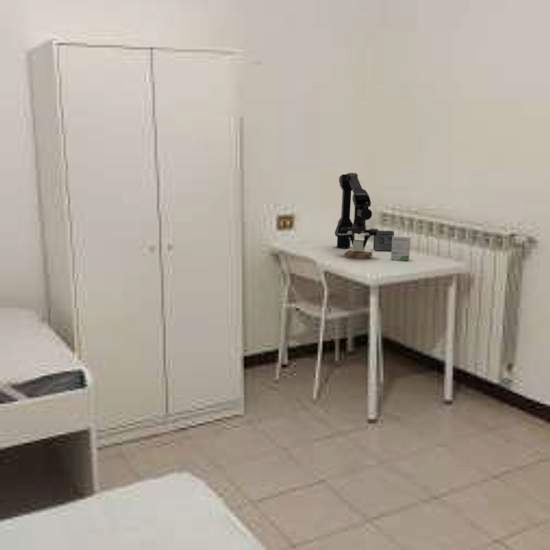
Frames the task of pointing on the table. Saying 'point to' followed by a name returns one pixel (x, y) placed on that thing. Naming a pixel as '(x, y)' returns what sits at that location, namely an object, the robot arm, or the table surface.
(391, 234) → the small box
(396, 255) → the ink box
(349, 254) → the brown wooden tray
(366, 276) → the table surface
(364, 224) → the robot arm
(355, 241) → the sage cube
